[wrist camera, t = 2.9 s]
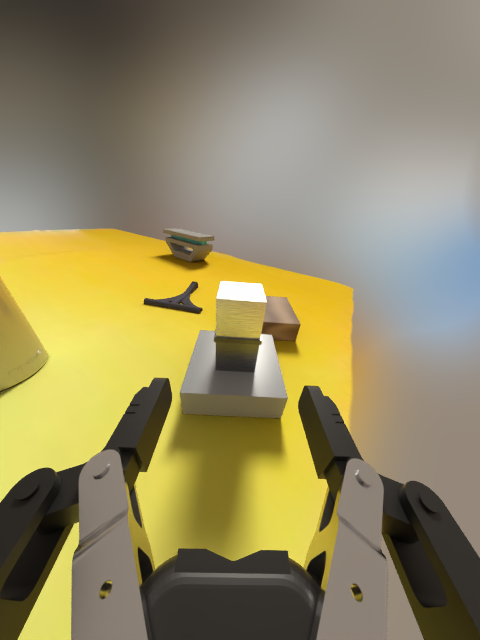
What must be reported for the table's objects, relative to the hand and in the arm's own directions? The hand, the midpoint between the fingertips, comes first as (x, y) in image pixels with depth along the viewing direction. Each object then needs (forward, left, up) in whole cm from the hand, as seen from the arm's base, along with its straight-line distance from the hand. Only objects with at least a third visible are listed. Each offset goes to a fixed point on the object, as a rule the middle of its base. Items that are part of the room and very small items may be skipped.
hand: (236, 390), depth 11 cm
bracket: (-14, +39, -13) cm, 43 cm away
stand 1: (0, +12, -12) cm, 17 cm away
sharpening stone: (-23, +81, -13) cm, 85 cm away
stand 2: (+6, +28, -12) cm, 31 cm away
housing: (0, +12, -8) cm, 15 cm away
